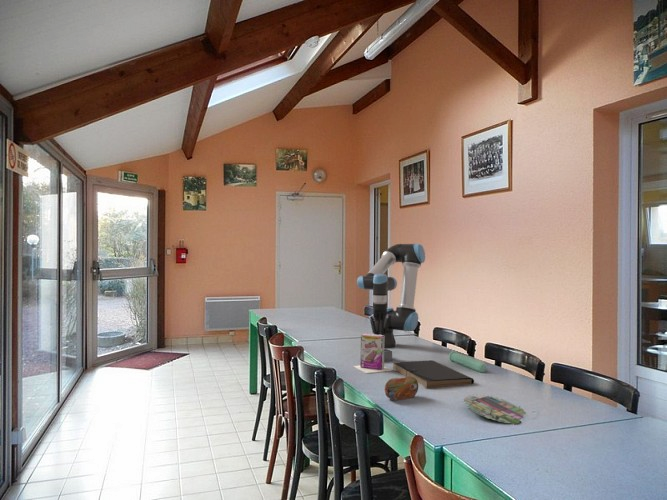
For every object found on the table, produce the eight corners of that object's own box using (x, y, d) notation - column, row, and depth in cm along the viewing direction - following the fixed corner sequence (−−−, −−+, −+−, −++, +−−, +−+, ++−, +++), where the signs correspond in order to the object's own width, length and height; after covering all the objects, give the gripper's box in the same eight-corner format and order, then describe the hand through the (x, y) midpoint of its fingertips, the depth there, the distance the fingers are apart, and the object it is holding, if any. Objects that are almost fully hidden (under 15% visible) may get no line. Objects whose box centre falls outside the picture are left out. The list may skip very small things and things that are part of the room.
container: (486, 360, 223) (456, 348, 247) (477, 365, 221) (447, 353, 245) (490, 371, 224) (459, 358, 247) (480, 376, 222) (450, 363, 246)
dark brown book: (392, 362, 228) (435, 359, 235) (392, 370, 228) (435, 367, 235) (426, 380, 196) (474, 376, 204) (425, 389, 196) (473, 386, 204)
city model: (523, 438, 151) (525, 420, 151) (453, 415, 163) (455, 398, 163) (534, 416, 172) (536, 400, 172) (471, 397, 184) (473, 382, 184)
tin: (387, 402, 178) (388, 380, 178) (383, 399, 181) (383, 378, 181) (418, 396, 185) (419, 376, 185) (414, 394, 188) (414, 374, 188)
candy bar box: (360, 367, 228) (360, 334, 227) (362, 365, 232) (363, 333, 232) (382, 370, 224) (382, 336, 224) (384, 367, 228) (384, 334, 228)
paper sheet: (377, 364, 237) (377, 363, 237) (391, 370, 224) (391, 370, 224) (353, 366, 232) (353, 365, 232) (366, 373, 219) (366, 372, 219)
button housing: (382, 356, 254) (382, 347, 254) (392, 360, 245) (392, 351, 245) (366, 357, 250) (366, 348, 250) (375, 362, 241) (375, 352, 241)
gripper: (372, 304, 242) (372, 348, 242) (393, 303, 247) (393, 347, 247) (366, 302, 249) (365, 346, 249) (386, 301, 254) (386, 344, 254)
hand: (379, 346), depth 248 cm, fingers closed
